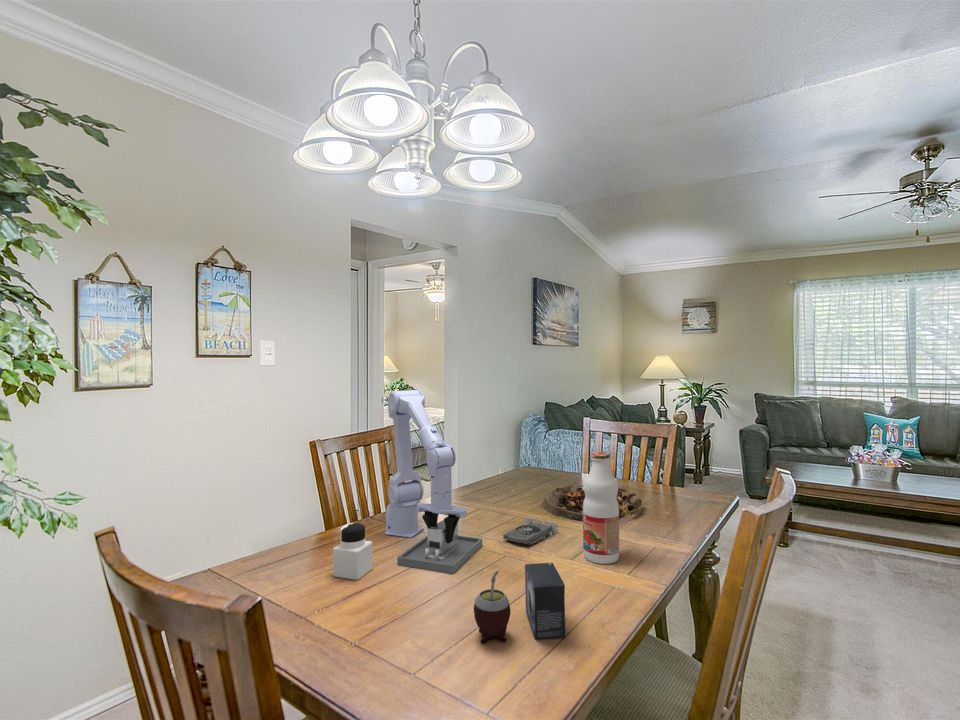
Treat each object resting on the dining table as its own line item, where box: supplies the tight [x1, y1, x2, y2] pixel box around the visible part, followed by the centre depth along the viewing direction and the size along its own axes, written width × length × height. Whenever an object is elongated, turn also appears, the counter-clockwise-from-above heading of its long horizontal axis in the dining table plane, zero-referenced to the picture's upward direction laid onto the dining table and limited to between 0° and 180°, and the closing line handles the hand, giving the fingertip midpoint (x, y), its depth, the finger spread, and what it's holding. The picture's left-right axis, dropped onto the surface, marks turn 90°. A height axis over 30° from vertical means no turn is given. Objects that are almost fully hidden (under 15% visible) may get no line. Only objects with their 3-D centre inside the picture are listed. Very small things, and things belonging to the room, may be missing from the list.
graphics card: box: [502, 516, 559, 546], centre depth 150 cm, size 17×4×12 cm
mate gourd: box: [473, 570, 511, 645], centre depth 96 cm, size 8×8×15 cm
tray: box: [396, 534, 483, 575], centre depth 136 cm, size 16×20×4 cm
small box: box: [524, 562, 567, 641], centre depth 100 cm, size 11×6×10 cm, turn 5°
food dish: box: [540, 484, 643, 521], centre depth 178 cm, size 35×33×8 cm
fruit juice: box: [582, 451, 620, 565], centre depth 133 cm, size 9×9×28 cm
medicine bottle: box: [332, 522, 373, 581], centre depth 125 cm, size 7×7×12 cm
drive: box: [427, 519, 459, 554], centre depth 137 cm, size 4×9×6 cm, turn 155°
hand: (441, 540), depth 136 cm, fingers closed on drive, 4 cm apart
